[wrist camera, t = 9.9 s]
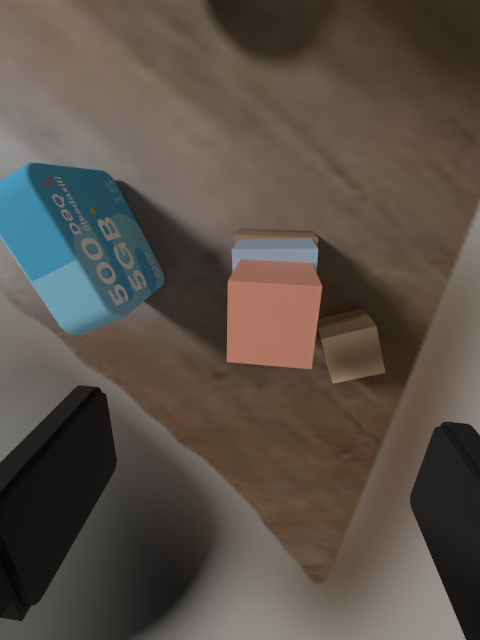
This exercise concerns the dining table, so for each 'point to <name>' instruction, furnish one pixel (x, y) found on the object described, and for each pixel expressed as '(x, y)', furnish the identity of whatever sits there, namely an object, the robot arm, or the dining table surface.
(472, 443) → the robot arm
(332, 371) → the block
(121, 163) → the dining table surface
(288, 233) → the tower base
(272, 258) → the tower top
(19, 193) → the data package
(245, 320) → the salmon orange block
